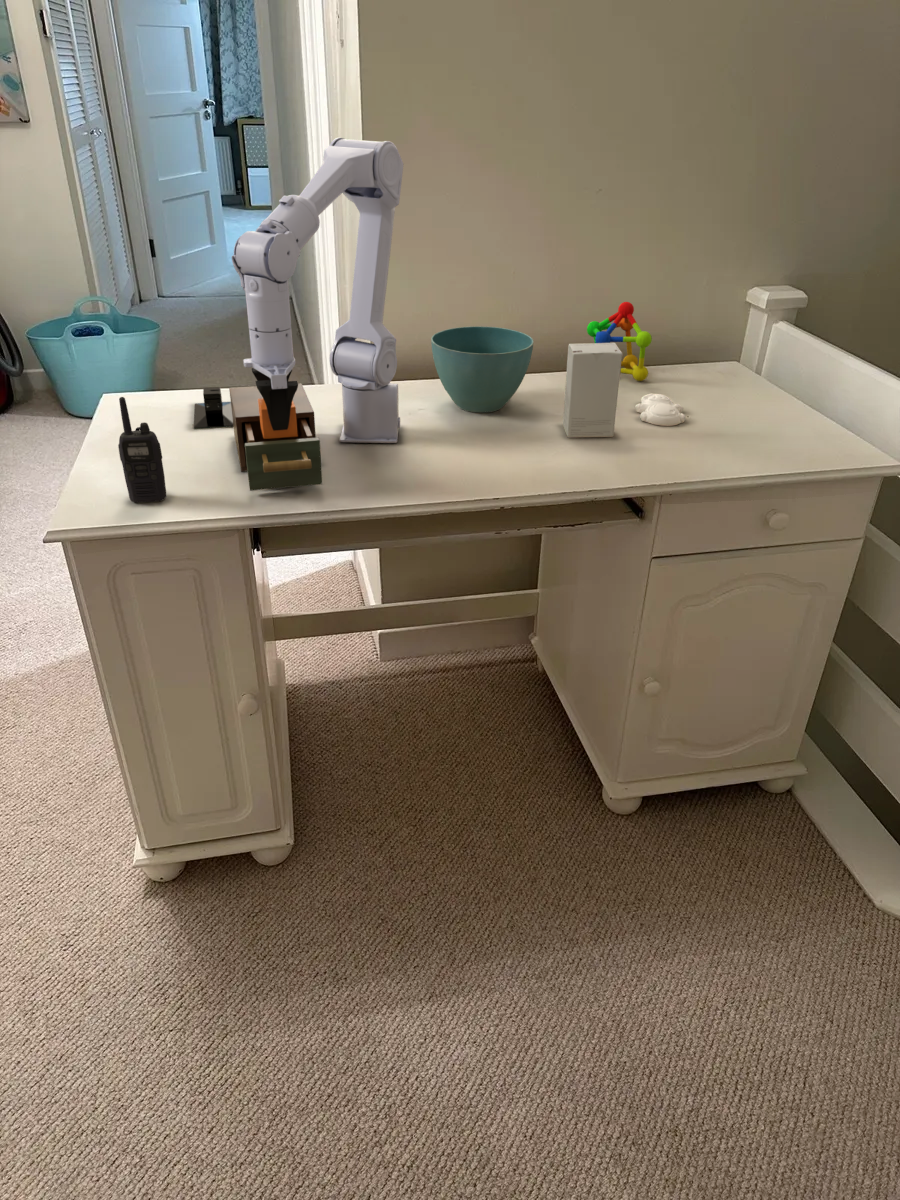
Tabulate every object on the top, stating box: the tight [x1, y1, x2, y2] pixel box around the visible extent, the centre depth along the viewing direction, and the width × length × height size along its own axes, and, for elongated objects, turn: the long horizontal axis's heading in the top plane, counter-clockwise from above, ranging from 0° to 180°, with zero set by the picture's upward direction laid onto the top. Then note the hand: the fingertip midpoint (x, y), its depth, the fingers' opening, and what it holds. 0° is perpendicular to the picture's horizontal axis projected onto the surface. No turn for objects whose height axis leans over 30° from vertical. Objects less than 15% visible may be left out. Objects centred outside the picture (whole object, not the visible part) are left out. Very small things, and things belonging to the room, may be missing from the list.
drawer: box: [244, 418, 323, 492], centre depth 126 cm, size 18×10×7 cm, turn 16°
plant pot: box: [430, 325, 534, 414], centre depth 156 cm, size 18×18×12 cm
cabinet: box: [228, 382, 317, 473], centre depth 136 cm, size 14×12×9 cm
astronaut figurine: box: [634, 393, 686, 427], centre depth 157 cm, size 9×12×3 cm
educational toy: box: [586, 301, 653, 382], centre depth 173 cm, size 16×13×15 cm
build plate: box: [191, 386, 234, 430], centre depth 150 cm, size 12×7×5 cm, turn 13°
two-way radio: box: [117, 396, 167, 504], centre depth 119 cm, size 6×4×15 cm
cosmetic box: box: [562, 342, 623, 438], centre depth 145 cm, size 8×6×15 cm
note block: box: [258, 398, 298, 439], centre depth 124 cm, size 5×5×4 cm
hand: (278, 422), depth 124 cm, fingers closed on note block, 5 cm apart
